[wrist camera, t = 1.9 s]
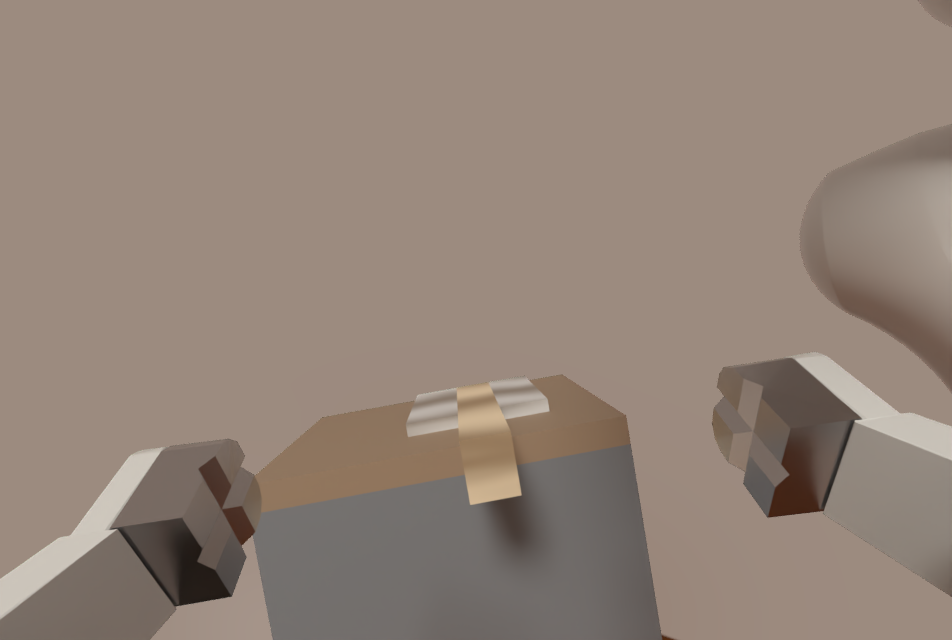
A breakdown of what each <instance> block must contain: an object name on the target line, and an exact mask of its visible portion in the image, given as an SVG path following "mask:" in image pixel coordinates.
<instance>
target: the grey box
mask: <svg viewBox="0 0 952 640" xmlns="http://www.w3.org/2000/svg"><path fill="white" fill-rule="evenodd" d="M529 381H530V382H531V383H532V384H533V385H534V386H535V387H536V388H537V389H538V390H539V391H540V392H541V393H542V394H543V395H544V396H545V397H546V398H547V399H548V405H549V411H548V412H543V413H537V414H532V415H526V416H521V417H515V418H510V419H505V420H506V422H507V424H508V426H509V429H510V431H511V435H512V441H513V447H514V453H515V459H516V465H517V471H518V477H519V482H520V488H521V494H522V495H521V496H516V497H510V498H505V499H500V500H494V501H489V502H484V503H478V504H473V505H470V501H469V495H468V490H467V484H466V478H465V472H464V467H463V461H462V455H461V449H460V444H459V429H458V428H455V429H449V430H444V431H438V432H433V433H427V434H422V435H416V436H411V437H408V434H407V429H406V422H407V420H408V417H409V415H410V412H411V410H412V407H413V405H414V402H415V401H411V402H406V403H400V404H394V405H389V406H383V407H378V408H372V409H366V410H361V411H355V412H350V413H344V414H338V415H333V416H327V417H322V418H321V419H320V420H319V421H318V422H317V423H316V424H315V425H313V426H312V427H311V428H310V429H309V430H307V431H306V432H305V433H304V434H303V435H302V436H300V438H298V439H297V440H296V441H295V442H293V444H291V445H290V446H289V447H288V448H287V449H286V450H284V451H283V452H282V453H281V454H280V455H278V456H277V457H276V458H275V459H274V460H273V461H272V462H270V463H269V464H268V465H267V466H266V467H265V468H263V469H262V470H261V471H260V472H259V473H258V474H256V475H255V477H256V480H257V482H258V484H259V487H260V492H261V497H262V505H261V517H260V520H259V523H258V526H257V529H256V532H255V533H254V534H253V539H254V544H255V548H256V554H257V560H258V565H259V570H260V575H261V580H262V585H263V591H264V596H265V601H266V606H267V611H268V616H269V622H270V627H271V632H272V637H273V640H662V636H661V630H660V624H659V618H658V612H657V605H656V599H655V593H654V587H653V580H652V574H651V568H650V562H649V555H648V549H647V543H646V537H645V531H644V524H643V518H642V512H641V506H640V499H639V493H638V487H637V481H636V474H635V469H634V462H633V456H632V450H631V444H630V437H629V431H628V425H627V418H626V415H624V414H623V413H621V412H620V411H618V410H616V409H615V408H613V407H612V406H610V405H609V404H607V403H606V402H604V401H602V400H601V399H599V398H598V397H596V396H595V395H593V394H592V393H590V392H588V391H587V390H585V389H584V388H582V387H581V386H579V385H577V384H576V383H574V382H573V381H571V380H570V379H568V378H567V377H565V376H563V375H556V376H551V377H545V378H540V379H534V380H529Z"/></svg>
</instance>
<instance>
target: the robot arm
mask: <svg viewBox="0 0 952 640" xmlns="http://www.w3.org/2000/svg"><path fill="white" fill-rule="evenodd" d="M918 1H919V2H920V4H921V5H922V6H923V8H924V9H925V10H926V11H927V12H928V13H929V14H930V15H931V16H932V17H934V18H935V19H936V20H938V21H940V22H942V23H944V24H946V25H948V26H951V27H952V0H918ZM800 250H801V255H802V259H803V262H804V265H805V268H806V270H807V272H808V274H809V276H810V278H811V280H812V281H813V283H814V284H815V285H816V287H817V288H818V289H819V291H820V292H821V293H822V294H823V295H824V296H825V297H826V298H827V299H828V300H830V301H831V302H832V303H833V304H835V305H836V306H837V307H838V308H840V309H842V310H843V311H845V312H846V313H848V314H850V315H852V316H855V317H857V318H859V319H861V320H863V321H866V322H868V323H870V324H871V325H873V326H875V327H877V328H878V329H880V330H882V331H883V332H885V333H887V334H889V335H890V336H891V337H893V338H894V339H896V340H897V341H899V342H900V343H902V344H903V345H904V346H906V347H907V348H908V349H909V350H910V351H912V352H913V353H914V354H915V355H917V356H918V357H919V358H920V359H921V360H922V361H923V362H924V363H925V364H927V366H928V367H929V368H930V369H932V370H933V371H934V372H935V374H936V375H937V376H938V377H939V378H940V379H941V380H942V382H943V383H944V384H945V385H946V386H947V388H948V389H949V390H950V392H951V393H952V124H950V125H947V126H943V127H939V128H936V129H932V130H928V131H925V132H921V133H918V134H916V135H913V136H911V137H908V138H906V139H904V140H901V141H899V142H896V143H894V144H892V145H889V146H887V147H885V148H882V149H880V150H877V151H875V152H873V153H870V154H868V155H866V156H864V157H862V158H859V159H857V160H855V161H853V162H851V163H848V164H846V165H844V166H842V167H840V168H837V169H835V170H833V171H831V172H830V173H828V174H827V175H826V177H825V178H824V179H823V180H822V181H821V183H820V184H819V186H818V187H817V189H816V190H815V192H814V193H813V195H812V196H811V199H810V200H809V202H808V204H807V207H806V210H805V212H804V215H803V219H802V223H801V230H800ZM717 388H718V389H719V390H720V391H721V392H722V394H723V395H724V397H723V398H722V399H721V400H720V402H719V403H718V404H717V405H716V406H715V407H714V411H713V421H712V425H713V430H714V435H715V440H716V442H717V444H718V446H719V449H720V451H721V452H722V454H723V455H724V457H725V458H726V460H727V461H728V462H729V463H730V464H732V465H734V466H736V467H737V468H739V469H741V470H743V471H745V477H744V483H743V484H744V485H745V487H746V488H747V489H748V491H749V492H750V494H751V495H752V496H753V498H754V499H755V501H756V502H757V503H758V505H759V506H760V507H761V509H762V510H763V512H764V513H765V514H766V516H767V517H777V516H785V515H792V514H801V513H810V512H818V511H824V512H823V514H824V515H826V516H827V517H829V518H830V519H832V520H833V521H835V522H837V523H838V524H840V525H841V526H843V527H844V528H846V529H847V530H849V531H850V532H852V533H854V534H855V535H857V536H858V537H860V538H861V539H863V540H864V541H866V542H868V543H869V544H871V545H872V546H874V547H875V548H877V549H878V550H880V551H881V552H883V553H885V554H886V555H888V556H889V557H891V558H892V559H894V560H895V561H897V562H899V563H900V564H902V565H903V566H905V567H906V568H908V569H910V570H911V571H913V572H914V573H916V574H917V575H919V576H920V577H922V578H923V579H925V580H927V581H928V582H930V583H931V584H933V585H934V586H936V587H937V588H939V589H940V590H942V591H943V592H945V593H947V594H948V595H950V596H951V597H952V427H951V426H948V425H945V424H942V423H939V422H937V421H934V420H931V419H928V418H925V417H922V416H919V415H916V414H914V413H905V414H900V413H899V412H897V411H896V410H895V409H894V408H892V407H891V406H890V405H889V404H887V403H886V402H884V401H883V400H882V399H881V398H880V397H878V396H877V395H876V394H874V393H873V392H871V390H869V389H868V388H867V387H866V386H864V385H863V384H862V383H860V382H859V381H858V380H857V379H855V378H854V377H853V376H852V375H850V374H849V373H847V372H846V371H845V370H844V369H843V368H841V367H840V366H839V365H837V364H836V363H835V362H833V361H832V360H831V359H830V358H829V357H827V356H826V355H823V354H820V353H817V352H812V353H806V354H800V355H794V356H788V357H784V358H782V359H774V360H768V361H762V362H754V363H748V364H741V365H734V366H728V367H724V368H723V369H722V371H721V372H720V374H719V378H718V385H717ZM244 457H245V455H244V453H243V451H242V449H241V448H240V446H239V444H238V442H237V441H234V440H231V439H224V440H216V441H208V442H199V443H191V444H183V445H175V446H170V447H162V448H154V449H146V450H140V451H138V452H136V453H134V454H132V455H130V456H129V458H128V459H127V460H126V462H125V463H124V464H123V466H122V467H121V468H120V470H119V471H118V472H117V474H116V475H115V477H114V478H113V479H112V481H111V482H110V483H109V485H108V486H107V487H106V488H105V490H104V491H103V492H102V494H101V495H100V496H99V498H98V499H97V500H96V502H95V503H94V505H93V506H92V507H91V509H90V510H89V511H88V513H87V514H86V515H85V517H84V518H83V519H82V521H81V522H80V523H79V525H78V526H77V527H76V529H75V530H74V531H73V533H72V534H71V535H70V536H66V537H59V538H58V539H57V540H55V541H54V542H52V543H51V544H49V545H48V546H47V547H45V548H44V549H42V550H41V551H40V552H38V553H37V554H35V555H34V556H32V557H31V558H29V559H28V560H27V561H25V562H24V563H23V564H21V565H19V566H18V567H17V568H15V569H14V570H12V571H11V572H10V573H8V574H7V575H5V576H4V577H2V578H1V579H0V640H150V639H151V638H152V637H153V636H154V635H155V634H156V632H157V631H158V630H159V629H160V628H161V627H162V625H163V624H164V623H165V622H166V621H167V620H168V619H169V618H170V616H171V615H172V614H173V613H174V612H175V611H176V606H182V605H187V604H193V603H199V602H204V601H210V600H216V599H221V598H227V597H232V595H233V592H234V589H235V586H236V584H237V581H238V578H239V576H240V573H241V570H242V568H243V565H244V562H245V559H246V555H245V553H244V550H243V548H242V545H243V544H244V543H245V542H246V541H247V540H248V539H249V538H250V537H251V536H252V535H253V534H254V533H255V532H256V529H257V526H258V523H259V520H260V517H261V505H262V497H261V492H260V487H259V484H258V482H257V480H256V477H255V475H253V474H252V473H250V472H248V471H247V470H245V469H244V468H242V467H241V464H242V462H243V459H244Z"/></svg>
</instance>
